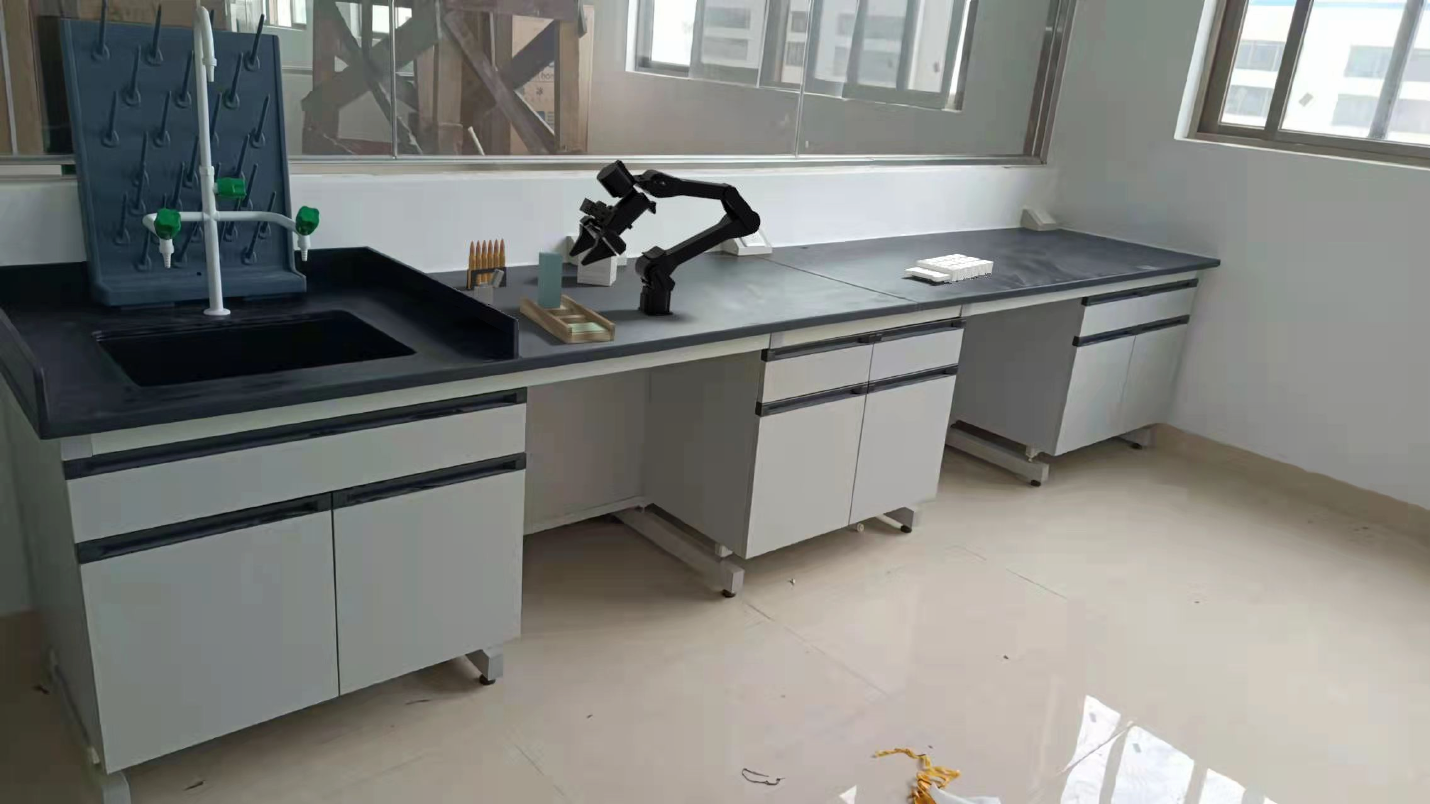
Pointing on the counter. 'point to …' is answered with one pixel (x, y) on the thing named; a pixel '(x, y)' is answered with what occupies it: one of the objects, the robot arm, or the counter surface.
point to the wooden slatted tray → (570, 321)
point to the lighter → (488, 288)
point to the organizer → (950, 268)
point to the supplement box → (597, 270)
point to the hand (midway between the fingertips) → (575, 260)
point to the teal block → (549, 280)
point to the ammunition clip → (485, 264)
